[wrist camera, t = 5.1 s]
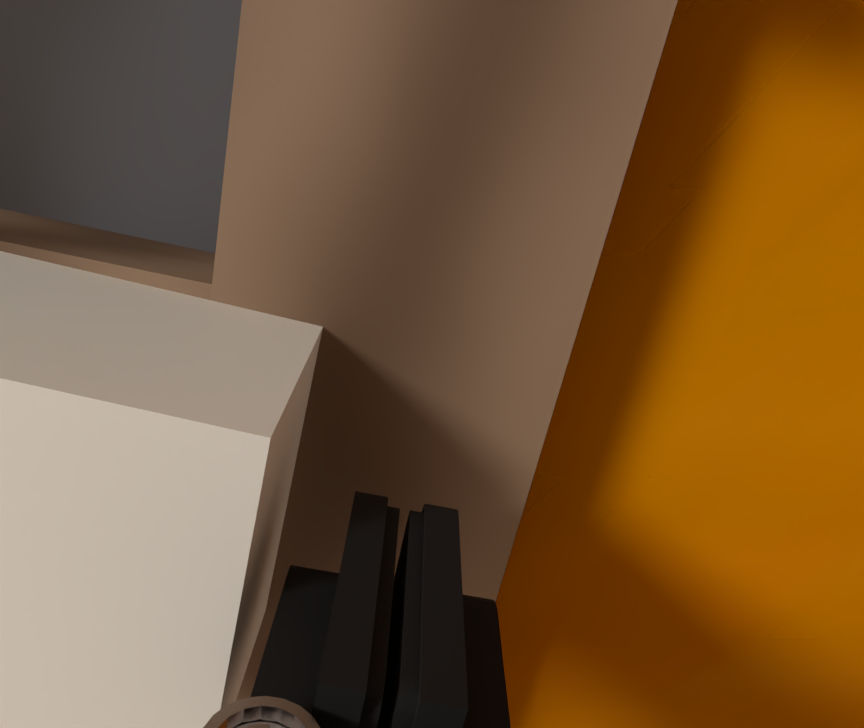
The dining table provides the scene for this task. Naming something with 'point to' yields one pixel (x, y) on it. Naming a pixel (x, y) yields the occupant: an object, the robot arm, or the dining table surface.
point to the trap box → (348, 214)
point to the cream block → (137, 494)
